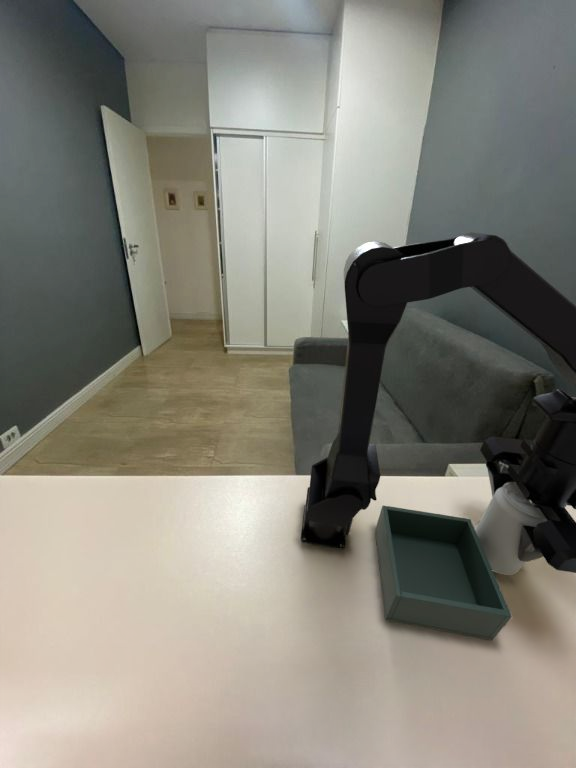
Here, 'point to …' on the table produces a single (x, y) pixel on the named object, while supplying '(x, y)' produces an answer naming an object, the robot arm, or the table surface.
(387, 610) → the shallow open box
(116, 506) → the table surface
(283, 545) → the table surface
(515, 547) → the beverage can
